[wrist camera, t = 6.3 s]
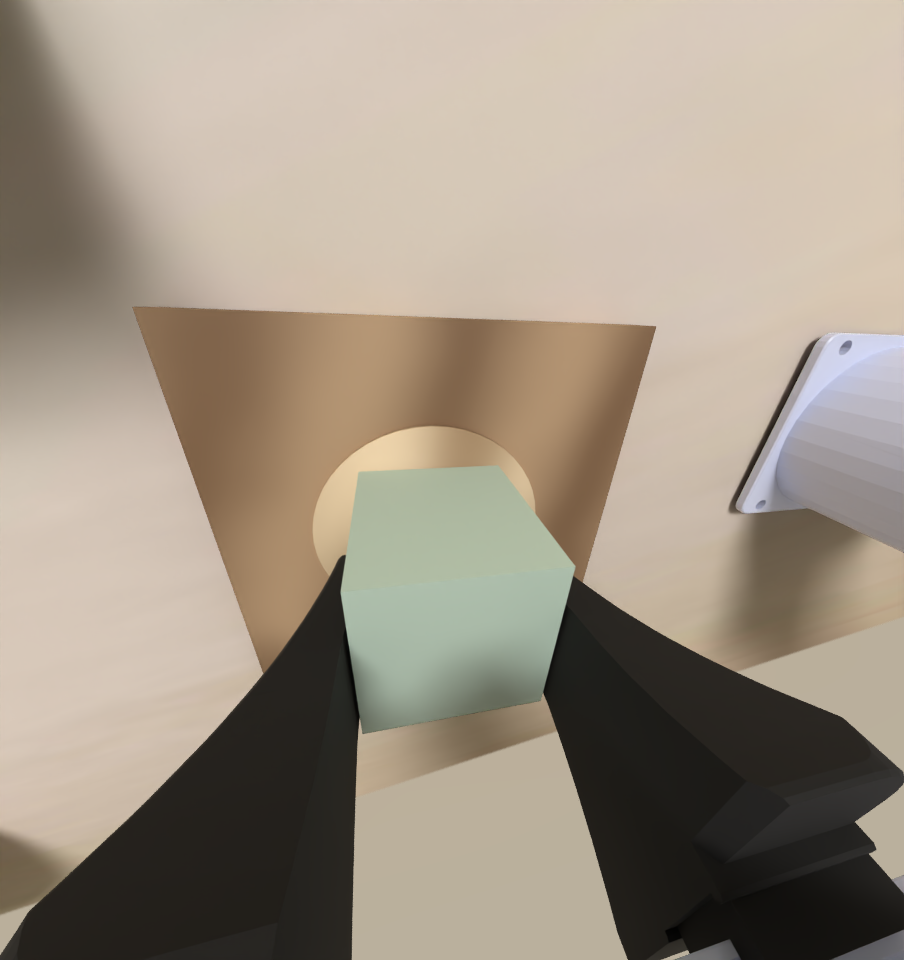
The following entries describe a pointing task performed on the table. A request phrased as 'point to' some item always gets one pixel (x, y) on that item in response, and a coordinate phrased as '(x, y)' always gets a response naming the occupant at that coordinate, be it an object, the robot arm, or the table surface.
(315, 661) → the robot arm
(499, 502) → the block
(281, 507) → the rest board
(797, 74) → the table surface
